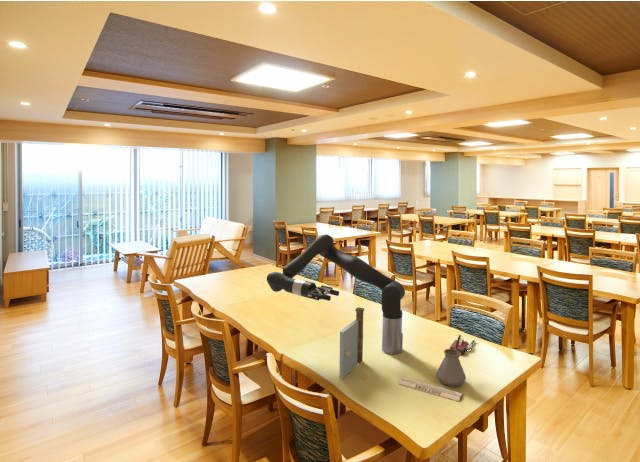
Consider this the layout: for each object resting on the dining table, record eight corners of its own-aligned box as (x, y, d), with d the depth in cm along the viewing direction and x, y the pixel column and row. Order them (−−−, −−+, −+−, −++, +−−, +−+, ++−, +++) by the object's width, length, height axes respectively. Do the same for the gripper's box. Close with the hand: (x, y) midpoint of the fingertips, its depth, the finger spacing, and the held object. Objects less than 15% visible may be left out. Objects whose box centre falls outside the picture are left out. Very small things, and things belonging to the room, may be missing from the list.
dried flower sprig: (467, 358, 183) (476, 343, 199) (467, 349, 182) (476, 335, 199) (448, 353, 188) (458, 339, 204) (448, 344, 187) (458, 331, 204)
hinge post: (357, 359, 180) (358, 307, 177) (363, 361, 178) (364, 308, 175) (354, 362, 177) (355, 309, 174) (360, 363, 176) (361, 310, 173)
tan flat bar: (462, 396, 151) (462, 392, 151) (458, 405, 145) (458, 400, 145) (403, 379, 163) (404, 375, 163) (397, 387, 157) (397, 383, 157)
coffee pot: (462, 392, 153) (464, 355, 151) (432, 384, 158) (434, 349, 157) (472, 369, 171) (474, 337, 169) (445, 363, 177) (447, 331, 175)
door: (354, 362, 176) (355, 319, 173) (361, 364, 174) (362, 320, 172) (339, 377, 162) (339, 331, 160) (346, 379, 161) (347, 333, 158)
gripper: (296, 284, 178) (328, 292, 171) (312, 277, 191) (342, 284, 183) (295, 300, 179) (326, 308, 172) (311, 292, 192) (340, 299, 184)
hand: (334, 296), depth 178 cm, fingers open, 8 cm apart
